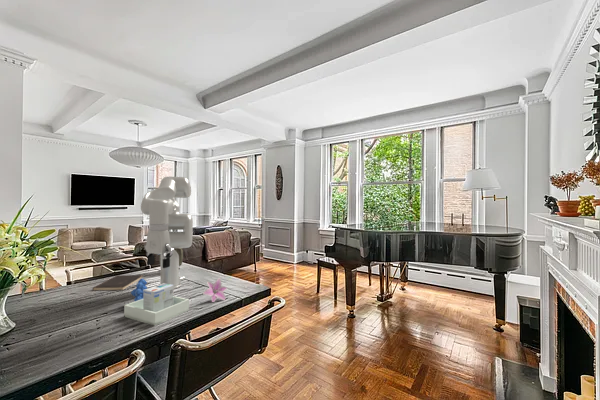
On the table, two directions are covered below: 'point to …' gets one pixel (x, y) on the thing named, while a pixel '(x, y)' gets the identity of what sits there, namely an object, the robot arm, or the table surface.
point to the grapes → (139, 290)
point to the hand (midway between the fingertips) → (158, 265)
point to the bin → (155, 318)
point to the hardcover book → (118, 282)
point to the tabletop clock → (180, 253)
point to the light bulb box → (158, 297)
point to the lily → (215, 290)
